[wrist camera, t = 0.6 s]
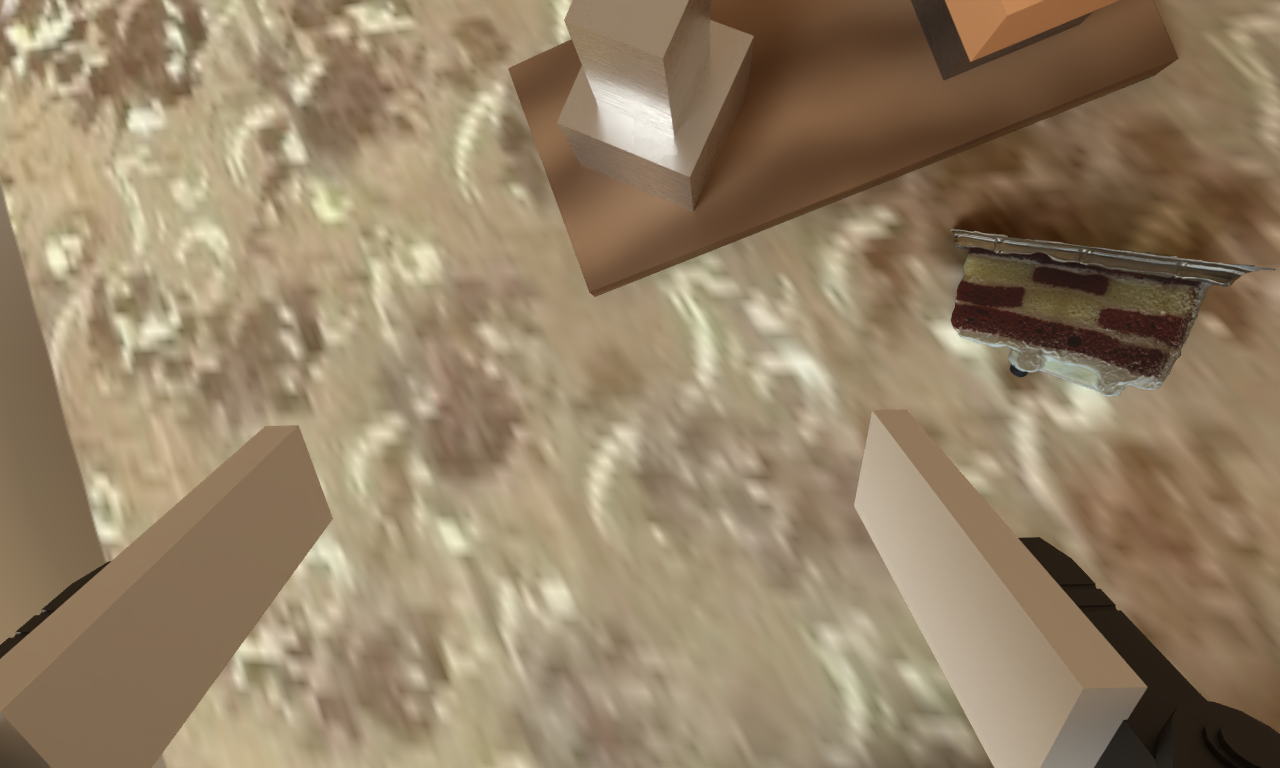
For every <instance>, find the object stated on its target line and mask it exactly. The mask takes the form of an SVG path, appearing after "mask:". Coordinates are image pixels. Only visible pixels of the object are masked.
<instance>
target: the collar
mask: <svg viewBox="0 0 1280 768" xmlns="http://www.w3.org/2000/svg"><path fill="white" fill-rule="evenodd" d="M1117 1H1119V0H945V2H946V4H947V7H948V9H949V11H950V14H951V16H952V19H953V21H954V24H955V26H956V28H957V31H958V33H959V36H960V38H961V40H962V43H963V45H964V48H965V50H966V53H967V55H968V57H969V60H970V62H972V61H974V60H977V59H979V58H982V57H984V56H986V55H989V54H991V53H994V52H996V51H998V50H1001V49H1003V48H1006V47H1008V46H1011V45H1013V44H1015V43H1018V42H1020V41H1023V40H1025V39H1027V38H1030V37H1032V36H1035V35H1037V34H1040V33H1042V32H1044V31H1047V30H1049V29H1052V28H1054V27H1056V26H1059V25H1061V24H1064V23H1066V22H1069V21H1071V20H1073V19H1076V18H1078V17H1081V16H1083V15H1085V14H1088V13H1090V12H1093V11H1095V10H1098V9H1100V8H1102V7H1105V6H1107V5H1110V4H1112V3H1114V2H1117Z"/></svg>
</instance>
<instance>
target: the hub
mask: <svg viewBox="0 0 1280 768" xmlns="http://www.w3.org/2000/svg"><path fill="white" fill-rule="evenodd" d="M564 21H565V23H566V26H567V28H568V31H569V34H570V36H571V39H572V41H573V44H574V46H575V49H576V51H577V54H578V56H579V59H580V61H581V64H582V67H581V69H580V71H579V73H578V76H577V78H576V80H575V82H574V85H573V87H572V89H571V92H570V94H569V96H568V98H567V101H566V103H565V105H564V107H563V110H562V112H561V114H560V116H559V119H558V121H557V124H558V126H559V127H560V129H561V131H562V133H563V134H564V136H565V138H566V139H567V141H568V143H569V145H570V146H571V148H572V150H573V152H574V153H575V155H576V157H577V159H578V160H579V162H580V164H581V165H582V166H585V167H587V168H590V169H592V170H594V171H597V172H599V173H601V174H604V175H606V176H609V177H611V178H613V179H616V180H618V181H621V182H623V183H625V184H628V185H630V186H633V187H635V188H637V189H640V190H642V191H645V192H647V193H649V194H652V195H654V196H657V197H659V198H661V199H664V200H666V201H669V202H671V203H673V204H676V205H678V206H681V207H683V208H685V209H688V210H690V211H692V212H693V211H694V209H695V207H696V204H697V202H698V200H699V198H700V196H701V194H702V191H703V189H704V187H705V185H706V183H707V180H708V178H709V176H710V174H711V172H712V169H713V167H714V165H715V163H716V161H717V158H718V156H719V154H720V152H721V150H722V147H723V145H724V143H725V141H726V139H727V137H728V134H729V132H730V130H731V128H732V126H733V123H734V121H735V119H736V117H737V115H738V112H739V110H740V108H741V106H742V104H743V101H744V99H745V97H746V95H747V88H748V80H749V72H750V64H751V56H752V48H753V40H754V36H753V35H750V34H747V33H745V32H742V31H739V30H736V29H734V28H731V27H728V26H726V25H723V24H720V23H718V22H715V21H712V20H710V0H573V1H572V4H571V6H570V8H569V11H568V13H567V15H566V17H565V20H564Z"/></svg>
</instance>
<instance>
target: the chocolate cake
mask: <svg viewBox="0 0 1280 768" xmlns="http://www.w3.org/2000/svg"><path fill="white" fill-rule="evenodd" d="M951 231H952V232H953V233H954V235H955V241H954V245H955V246H956V247H959V248H962V249H969V255H968V257H967V258H966V262H965V263H964V265H963V272H964V279H963V280H962V281H961V282H960V284H959V286H958V289H957V297H956V299H955V309H954V311H953V313H952V318H951V323H952V325H953V328H954V329H955V330H956V331H957V332H958V334H959V336H960V337H963V338H967V339H970V340H973V341H974V342H976V343H983V344H986V345H989V346H991V347H1004V346H1008V347H1010V348H1011V353H1010V355H1009V361H1010V362H1011V367H1010V371H1011V372H1012V373H1013V374H1014V375H1016V376H1018V377H1024V376H1026V375H1027V374H1028V372H1036V371H1038V370H1039V371H1043V372H1045V373H1048V374H1051V375H1054V376H1056V377H1059V378H1061V379H1064V380H1067V381H1071V382H1073V383H1076V384H1079V385H1082V386H1085V387H1087V388H1090V389H1094V390H1096V391H1099V392H1101V393H1102V394H1103V395H1104V396H1107V397H1111V396H1118V395H1120V393H1121V391H1122V390H1124V389H1125V387H1126V386H1129V385H1133V386H1135V387H1138V388H1140V389H1146V390H1156V389H1158V388H1159V387H1160V386H1161V385H1162V384H1163V382H1164V381H1165V379H1166V377H1167V376H1168V375H1169V373H1170V371H1171V369H1172V367H1173V365H1174V363H1175V361H1176V360H1177V358H1179V357H1180V356H1181V348H1182V346H1183V344H1184V343H1185V342H1186V339H1187V337H1188V336H1189V333H1190V330H1191V328H1192V326H1193V324H1194V321H1195V320H1196V318H1197V316H1198V312H1199V308H1200V305H1201V303H1202V301H1203V300H1204V297H1205V294H1206V292H1207V289H1208V288H1209V287H1210V286H1211V285H1220V286H1225V287H1226V286H1230V285H1232V284H1233V282H1234V281H1235V280H1237V279H1238V278H1239V277H1240V276H1242V275H1243V274H1245V273H1248V272H1253V271H1259V270H1275V269H1272V268H1258V267H1255V266H1253V265H1239V264H1222V263H1214V262H1206V261H1202V260H1192V259H1187V258H1177V256H1169V255H1159V254H1151V253H1149V252H1148V253H1143V252H1135V251H1130V250H1114V249H1106V248H1098V247H1087V246H1081V245H1072V244H1067V243H1062V242H1053V241H1045V240H1030V239H1019V238H1009V237H1008V236H1006V235H1003V234H987V233H986V234H985V233H981V232H977V231H974V232H971V231H966V230H954V229H952V230H951Z"/></svg>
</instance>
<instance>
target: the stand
mask: <svg viewBox="0 0 1280 768" xmlns="http://www.w3.org/2000/svg"><path fill="white" fill-rule="evenodd" d="M911 3H912V5H913V7H914V10H915V12H916V15H917V17H918V20H919V22H920V25H921V27H922V29H923V32H924V34H925V37H926V39H927V42H928V44H929V47H930V49H931V51H932V54H933V56H934V59H935V61H936V64H937V66H938V68H939V71H940V73H941V76H942V78H943V81H944V80H947V79H949V78H952V77H954V76H956V75H959V74H961V73H964V72H966V71H969V70H971V69H973V68H976V67H978V66H981V65H983V64H986V63H988V62H990V61H993V60H995V59H998V58H1000V57H1003V56H1005V55H1007V54H1010V53H1012V52H1015V51H1017V50H1020V49H1022V48H1024V47H1027V46H1029V45H1032V44H1034V43H1037V42H1039V41H1041V40H1044V39H1046V38H1049V37H1051V36H1053V35H1056V34H1058V33H1061V32H1063V31H1066V30H1068V29H1070V28H1073V27H1075V26H1078V25H1080V24H1081V23H1082V22H1083V21H1084V20H1085V19H1086V18H1087V17H1088V16H1089V15H1090V14H1091V13H1092V12H1090V13H1088V14H1085V15H1083V16H1081V17H1078V18H1076V19H1073V20H1071V21H1069V22H1066V23H1064V24H1061V25H1059V26H1056V27H1054V28H1052V29H1049V30H1047V31H1044V32H1042V33H1040V34H1037V35H1035V36H1032V37H1030V38H1027V39H1025V40H1023V41H1020V42H1018V43H1015V44H1013V45H1011V46H1008V47H1006V48H1003V49H1001V50H998V51H996V52H994V53H991V54H989V55H986V56H984V57H982V58H979V59H977V60H974V61H972V62H970V60H969V57H968V55H967V53H966V50H965V48H964V45H963V43H962V40H961V38H960V36H959V33H958V31H957V28H956V26H955V24H954V21H953V19H952V16H951V14H950V11H949V9H948V7H947V4H946V2H945V0H911Z"/></svg>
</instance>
